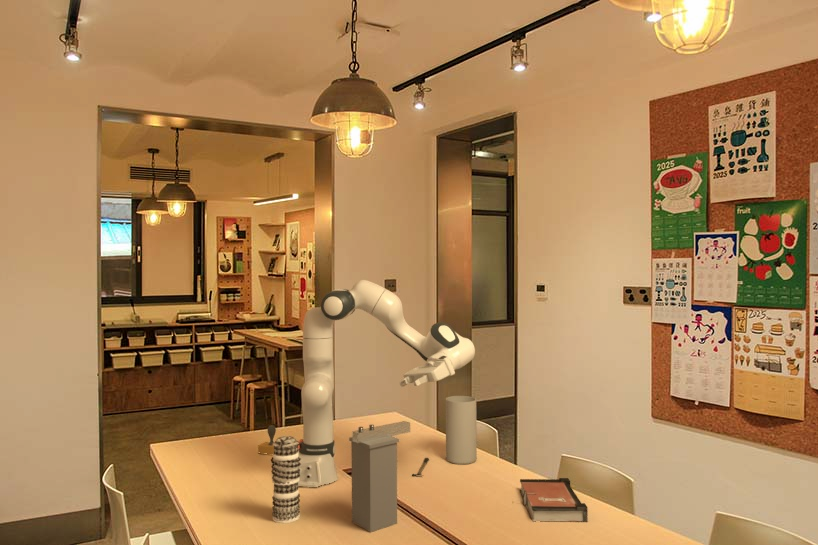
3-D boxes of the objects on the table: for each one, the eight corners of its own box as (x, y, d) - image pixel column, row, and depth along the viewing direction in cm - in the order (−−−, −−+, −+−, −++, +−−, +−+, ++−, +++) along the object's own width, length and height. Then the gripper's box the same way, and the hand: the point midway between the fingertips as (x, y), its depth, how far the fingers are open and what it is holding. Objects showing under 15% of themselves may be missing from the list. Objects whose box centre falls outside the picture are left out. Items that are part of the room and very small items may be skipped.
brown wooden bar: (358, 443, 181) (358, 429, 181) (352, 441, 183) (352, 427, 183) (410, 432, 193) (410, 418, 193) (404, 430, 196) (404, 417, 196)
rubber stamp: (285, 452, 260) (285, 424, 259) (277, 456, 254) (277, 427, 254) (265, 450, 263) (265, 422, 263) (257, 453, 258) (257, 425, 258)
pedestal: (370, 533, 179) (369, 445, 179) (349, 521, 187) (349, 437, 187) (399, 523, 186) (399, 438, 186) (378, 512, 194) (378, 431, 194)
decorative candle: (274, 525, 185) (273, 443, 184) (268, 514, 193) (268, 436, 193) (304, 520, 188) (303, 440, 188) (297, 510, 197) (296, 433, 197)
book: (518, 492, 213) (517, 477, 213) (568, 492, 212) (568, 478, 212) (530, 523, 187) (530, 506, 187) (587, 523, 186) (587, 507, 186)
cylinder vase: (468, 466, 239) (467, 403, 239) (440, 461, 246) (440, 400, 246) (481, 458, 250) (481, 397, 249) (454, 453, 256) (454, 394, 256)
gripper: (419, 360, 222) (389, 376, 215) (450, 356, 205) (419, 374, 197) (426, 375, 222) (396, 393, 215) (457, 373, 205) (427, 392, 197)
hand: (407, 384), depth 206 cm, fingers open, 8 cm apart
